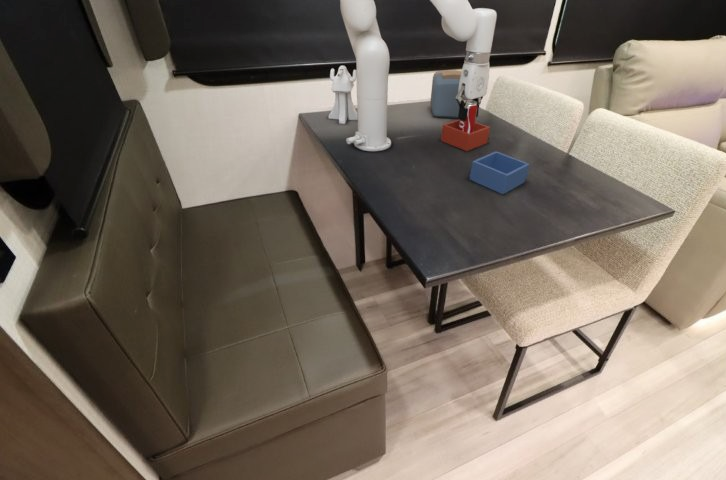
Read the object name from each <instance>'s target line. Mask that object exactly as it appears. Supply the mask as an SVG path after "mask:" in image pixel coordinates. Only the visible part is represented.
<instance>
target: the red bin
mask: <svg viewBox="0 0 726 480" xmlns="http://www.w3.org/2000/svg"><path fill="white" fill-rule="evenodd" d="M459 121H460V119H456V120H454V121H450V122H447V123H444V124H442V129H441V137H440V142H444V143H445V144H447V145H450V146H452V147H455V148H458V149H460V150H462V151H465V152H469V151H471V150H473V149H476V148H479V147H481V146H483V145H486V144H488V141H489V140H488V139H489V134H490V131H491V126H489V125H484V124H482V123H479V122H476V121H475V125H474V131H473V132H472V133H466V132H463V131H461V130H458V128H459Z"/></svg>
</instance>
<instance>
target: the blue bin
mask: <svg viewBox="0 0 726 480" xmlns="http://www.w3.org/2000/svg"><path fill="white" fill-rule="evenodd" d="M530 165H531V164H530V163H528V162H525V161H523V160H520V159H517V158H515V157H512V156H510V155H507V154H504V153H502V152H500V151H497V150H495V151H493V152H491V153H489V154H486V155H484V156H481V157H479V158H477V159H474V160H472V162H471V166H470V167H471V168H470V172H469V173H470V174H469V181H472V182H475V183H476V184H479V185H481V186H483V187H485V188H488V189H490V190H492V191H494V192H496V193H498V194H500V195H504V194H506V193H508V192H510V191H511V190H514V189H515V188H517V187H519V186H521V185H522V184H524V183H525V182H526V180H527V176H528V172H529V169H530Z"/></svg>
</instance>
